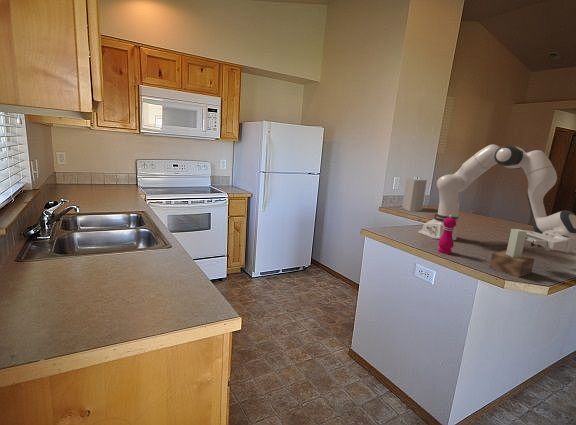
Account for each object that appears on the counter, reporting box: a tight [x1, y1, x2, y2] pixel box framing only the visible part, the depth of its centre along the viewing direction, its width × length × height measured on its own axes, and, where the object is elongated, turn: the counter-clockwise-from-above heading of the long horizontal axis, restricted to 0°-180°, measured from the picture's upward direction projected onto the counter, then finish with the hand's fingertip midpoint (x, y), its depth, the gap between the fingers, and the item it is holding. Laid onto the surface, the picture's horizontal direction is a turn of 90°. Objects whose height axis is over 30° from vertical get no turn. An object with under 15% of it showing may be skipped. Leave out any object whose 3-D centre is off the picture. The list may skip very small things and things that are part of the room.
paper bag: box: [402, 177, 428, 212], centre depth 291 cm, size 19×15×28 cm
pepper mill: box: [437, 215, 457, 255], centre depth 164 cm, size 7×7×20 cm
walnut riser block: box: [489, 250, 535, 278], centre depth 144 cm, size 12×12×7 cm
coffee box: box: [530, 242, 551, 253], centre depth 185 cm, size 9×6×16 cm
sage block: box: [505, 228, 527, 258], centre depth 143 cm, size 4×4×12 cm
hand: (524, 238), depth 142 cm, fingers open, 8 cm apart
